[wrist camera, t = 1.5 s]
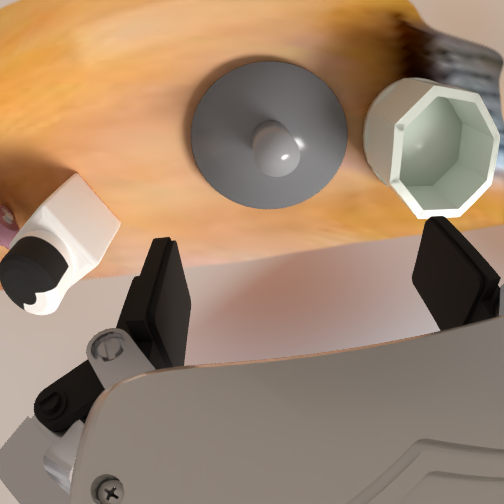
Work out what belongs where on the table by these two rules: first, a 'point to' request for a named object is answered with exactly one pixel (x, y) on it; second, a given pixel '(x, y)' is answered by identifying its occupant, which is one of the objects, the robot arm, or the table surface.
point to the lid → (269, 135)
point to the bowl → (431, 145)
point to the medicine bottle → (57, 247)
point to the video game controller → (7, 227)
